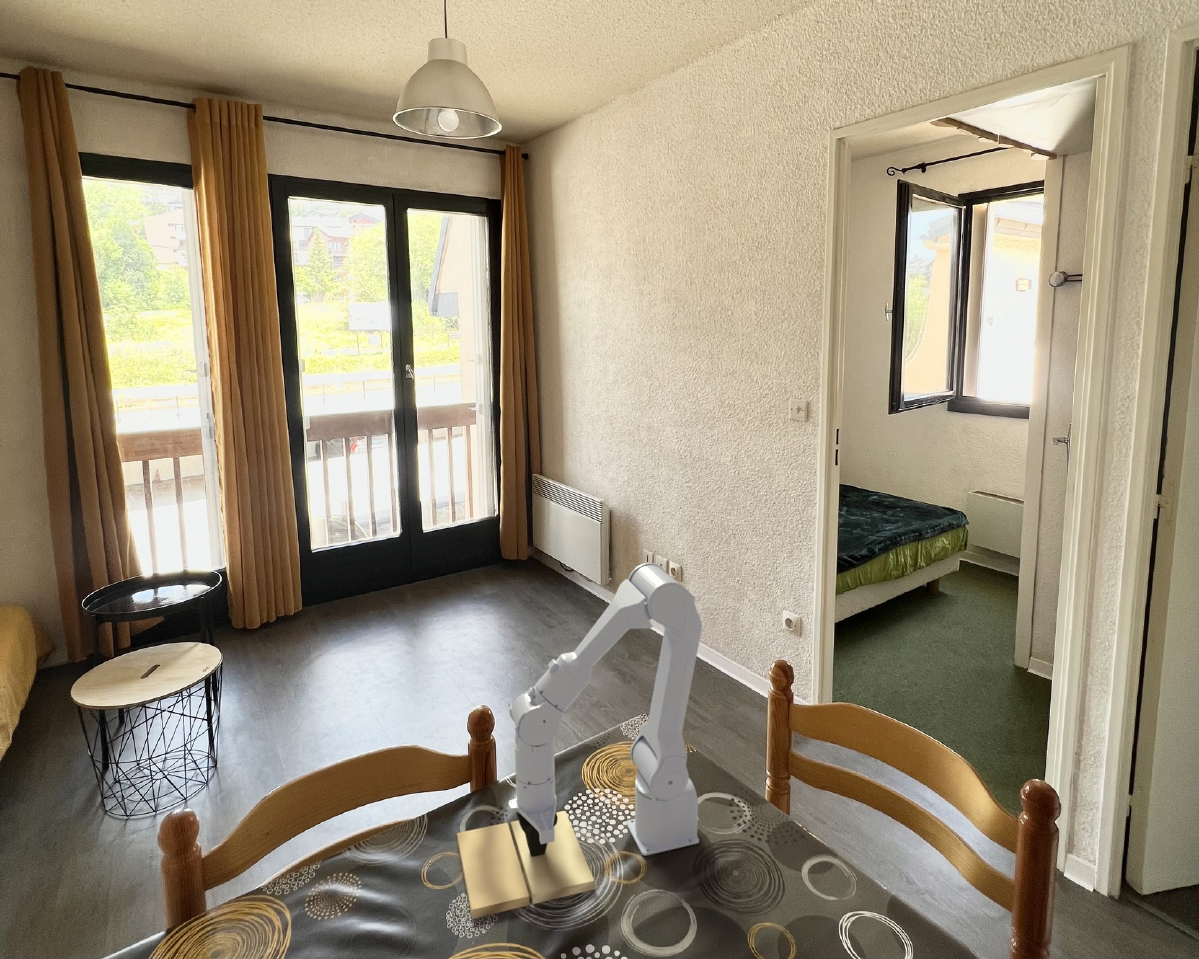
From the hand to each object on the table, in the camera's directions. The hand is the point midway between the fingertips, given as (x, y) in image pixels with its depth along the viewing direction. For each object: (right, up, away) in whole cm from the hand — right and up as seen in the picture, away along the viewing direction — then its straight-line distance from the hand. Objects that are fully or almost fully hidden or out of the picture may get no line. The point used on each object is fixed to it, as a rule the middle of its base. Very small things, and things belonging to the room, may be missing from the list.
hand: (537, 852), depth 113 cm
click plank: (+2, -1, +1) cm, 2 cm away
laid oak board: (-7, -2, -2) cm, 7 cm away
